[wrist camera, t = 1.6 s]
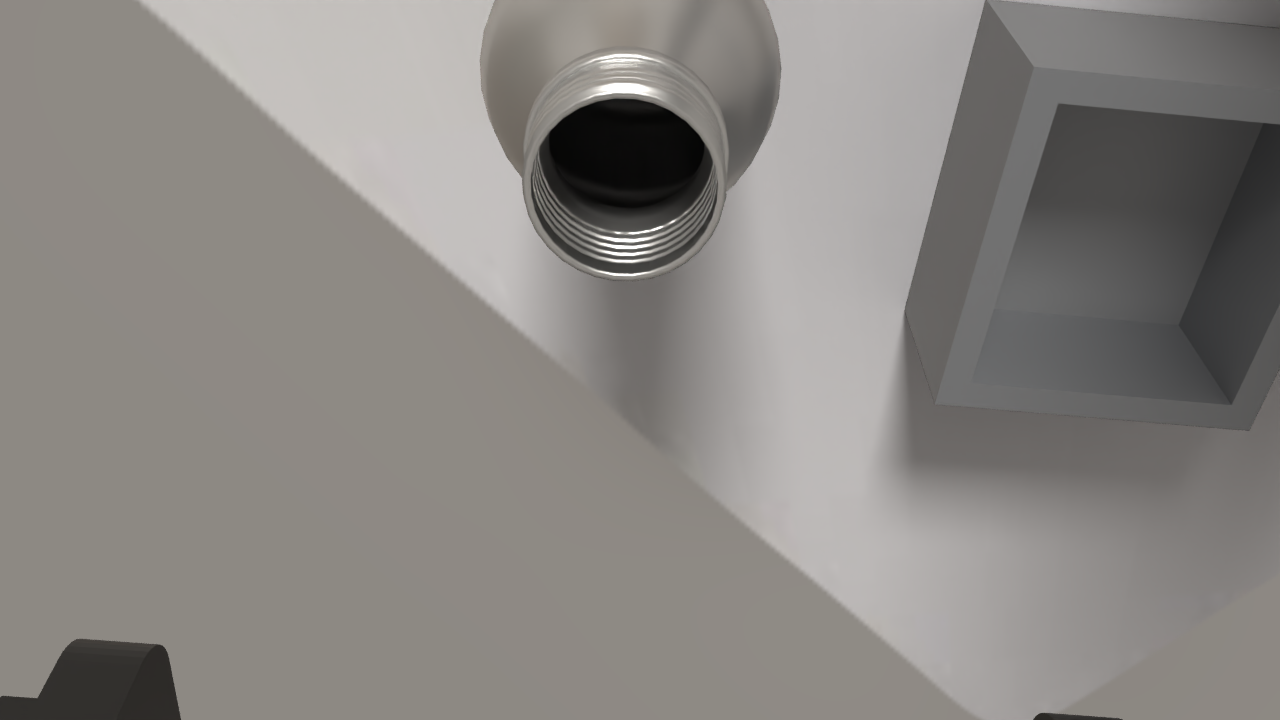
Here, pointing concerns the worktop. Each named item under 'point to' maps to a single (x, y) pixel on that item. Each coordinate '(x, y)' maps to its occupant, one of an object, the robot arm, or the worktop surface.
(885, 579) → the worktop surface
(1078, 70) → the storage caddy
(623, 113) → the plastic bottle
